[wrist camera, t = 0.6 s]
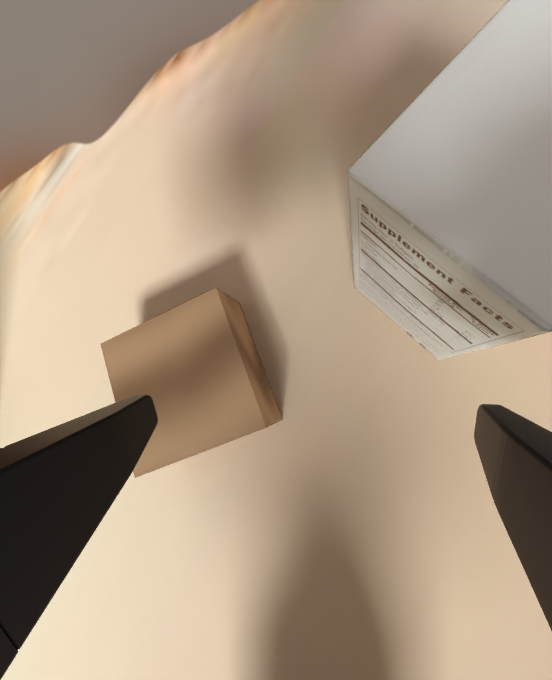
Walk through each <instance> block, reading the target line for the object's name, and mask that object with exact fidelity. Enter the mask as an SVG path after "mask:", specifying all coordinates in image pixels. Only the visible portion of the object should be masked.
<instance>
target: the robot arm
mask: <svg viewBox="0 0 552 680" xmlns="http://www.w3.org/2000/svg"><path fill="white" fill-rule="evenodd" d="M157 423H158V416H157V413H156V409H155V406H154V402H153V399H152V397H151V396H150V395H141V394H138V395H134V396H132V397H129V398H127V399H124V400H122V401H119V402H117V403H114V404H111V405H109V406H106V407H104V408H101V409H99V410H96V411H94V412H91V413H89V414H86V415H84V416H81V417H79V418H76V419H73V420H71V421H68V422H66V423H63V424H61V425H58V426H56V427H53V428H51V429H48V430H46V431H43V432H41V433H38V434H35V435H33V436H30V437H28V438H25V439H23V440H20V441H18V442H15V443H13V444H10V445H8V446H5V447H4V448H0V680H1V678H2V677H3V675H4V674H5V672H6V670H7V669H8V667H9V666H10V664H11V663H12V661H13V659H14V658H15V656H16V655H17V653H18V649H20V648H21V646H22V645H23V643H24V642H25V640H26V638H27V637H28V635H29V634H30V632H31V631H32V629H33V627H34V626H35V624H36V623H37V621H38V620H39V618H40V616H41V615H42V613H43V612H44V610H45V609H46V607H47V605H48V604H49V602H50V601H51V599H52V598H53V596H54V594H55V593H56V591H57V590H58V588H59V587H60V585H61V583H62V582H63V580H64V579H65V577H66V576H67V574H68V572H69V571H70V569H71V568H72V566H73V565H74V563H75V561H76V560H77V558H78V557H79V555H80V554H81V552H82V550H83V549H84V547H85V546H86V544H87V543H88V541H89V539H90V538H91V536H92V535H93V533H94V532H95V530H96V528H97V527H98V525H99V524H100V522H101V521H102V519H103V517H104V516H105V514H106V513H107V511H108V510H109V508H110V506H111V505H112V503H113V502H114V500H115V499H116V497H117V495H118V494H119V492H120V491H121V489H122V487H123V486H124V484H125V483H126V481H127V480H128V478H129V476H130V475H131V473H132V472H133V470H134V468H135V466H136V465H137V463H138V461H139V459H140V457H141V455H142V453H143V451H144V449H145V447H146V445H147V443H148V441H149V440H150V438H151V436H152V434H153V432H154V430H155V428H156V426H157ZM474 438H475V443H476V447H477V450H478V453H479V456H480V459H481V462H482V466H483V469H484V472H485V475H486V478H487V481H488V485H489V488H490V491H491V494H492V497H493V500H494V503H495V505H496V507H497V510H498V512H499V515H500V517H501V519H502V521H503V523H504V526H505V528H506V530H507V532H508V535H509V537H510V539H511V541H512V544H513V546H514V548H515V550H516V552H517V555H518V557H519V559H520V561H521V564H522V566H523V568H524V570H525V572H526V575H527V577H528V579H529V581H530V584H531V586H532V588H533V590H534V592H535V595H536V597H537V599H538V601H539V604H540V606H541V608H542V610H543V613H544V615H545V617H546V619H547V621H548V624H549V626H550V628H551V630H552V432H550V431H548V430H547V429H545V428H543V427H541V426H539V425H537V424H535V423H533V422H531V421H529V420H528V419H526V418H524V417H522V416H520V415H518V414H516V413H514V412H512V411H511V410H509V409H507V408H505V407H503V406H501V405H493V404H482V405H480V406H479V408H478V411H477V417H476V424H475V431H474Z"/></svg>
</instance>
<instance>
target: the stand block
mask: <svg viewBox="0 0 552 680" xmlns="http://www.w3.org/2000/svg"><path fill="white" fill-rule="evenodd" d="M101 348H102V351H103V355H104V359H105V363H106V367H107V371H108V375H109V379H110V383H111V386H112V390H113V394H114V398H115V402H116V403H117V402H119V401H122V400H124V399H127V398H129V397H132V396H134V395H138V394H141V395H150V396H151V397H152V399H153V402H154V406H155V409H156V413H157V416H158V423H157V426H156V428H155V430H154V432H153V434H152V436H151V438H150V440H149V441H148V443H147V445H146V447H145V449H144V451H143V453H142V455H141V457H140V459H139V461H138V463H137V465H136V466H135V468H134V470H133V472H134V476H135V478H136V477H138V476H141V475H143V474H146V473H149V472H151V471H154V470H156V469H159V468H162V467H164V466H167V465H169V464H172V463H175V462H177V461H180V460H182V459H185V458H188V457H190V456H193V455H196V454H198V453H201V452H203V451H206V450H209V449H211V448H214V447H216V446H219V445H222V444H224V443H227V442H229V441H232V440H235V439H237V438H240V437H242V436H245V435H248V434H250V433H253V432H256V431H258V430H261V429H263V428H266V427H268V426H270V425H272V424H274V423H276V422H278V421H280V420H282V417H281V414H280V411H279V408H278V406H277V403H276V400H275V398H274V395H273V392H272V390H271V387H270V384H269V382H268V379H267V376H266V374H265V371H264V368H263V365H262V363H261V360H260V357H259V355H258V352H257V349H256V347H255V344H254V341H253V339H252V336H251V333H250V331H249V328H248V325H247V322H246V320H245V317H244V314H243V312H242V309H241V306H240V304H239V302H237V301H236V300H234V299H233V298H231V297H230V296H228V295H227V294H225V293H224V292H222V291H221V290H219V289H218V288H214V289H212V290H210V291H208V292H206V293H204V294H202V295H200V296H198V297H195V298H193V299H191V300H189V301H187V302H185V303H183V304H181V305H179V306H177V307H175V308H173V309H171V310H169V311H167V312H165V313H163V314H161V315H159V316H157V317H155V318H153V319H151V320H148V321H146V322H144V323H142V324H140V325H138V326H136V327H134V328H132V329H130V330H128V331H126V332H124V333H122V334H120V335H118V336H116V337H114V338H112V339H110V340H108V341H106V342H104V343H102V344H101Z"/></svg>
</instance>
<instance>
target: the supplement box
mask: <svg viewBox="0 0 552 680" xmlns="http://www.w3.org/2000/svg"><path fill="white" fill-rule="evenodd" d="M347 174H348V187H349V205H350V222H351V240H352V256H353V272H354V286H355V289H357V290H358V291H359V292H360V293H362V294H363V295H364V296H365V297H366V298H367V299H368V300H370V301H371V302H372V303H373V304H374V305H375V306H376V307H378V308H379V309H380V310H381V311H382V312H383V313H384V314H386V315H387V316H388V317H389V318H390V319H391V320H392V321H394V322H395V323H396V324H397V325H398V326H399V327H400V328H402V329H403V330H404V331H405V332H406V333H407V334H408V335H410V336H411V337H412V338H413V339H414V340H415V341H416V342H418V343H419V344H420V345H421V346H422V347H423V348H424V349H426V350H427V351H428V352H429V353H430V354H431V355H432V356H433V357H435V358H436V359H437V360H443V359H447V358H450V357H454V356H458V355H462V354H465V353H469V352H474V351H478V350H481V349H485V348H490V347H494V346H497V345H501V344H506V343H510V342H514V341H517V340H521V339H525V338H529V337H533V336H536V335H540V334H544V333H547V332H551V331H552V0H508V1H507V2H506V3H505V4H504V6H503V7H502V8H501V9H500V10H499V11H498V12H497V13H496V14H495V15H494V16H493V17H492V18H491V19H490V20H489V21H488V22H487V24H486V25H485V26H484V27H483V28H482V29H481V30H480V31H479V32H478V33H477V34H476V35H475V36H474V37H473V38H472V39H471V40H470V41H469V43H468V44H467V45H466V46H465V47H464V48H463V49H462V50H461V51H460V52H459V53H458V54H457V55H456V56H455V57H454V58H453V59H452V60H451V62H450V63H449V64H448V65H447V66H446V67H445V68H444V69H443V70H442V71H441V72H440V73H439V74H438V75H437V76H436V77H435V78H434V80H433V81H432V82H431V83H430V84H429V85H428V86H427V87H426V88H425V89H424V90H423V91H422V92H421V93H420V94H419V95H418V97H417V98H416V99H415V100H414V101H413V102H412V103H411V104H410V105H409V106H408V107H407V108H406V109H405V110H404V111H403V112H402V113H401V115H400V116H399V117H398V118H397V119H396V120H395V121H394V122H393V123H392V124H391V125H390V126H389V127H388V128H387V129H386V130H385V131H384V132H383V134H382V135H381V136H380V137H379V138H378V139H377V140H376V141H375V142H374V143H373V144H372V145H371V146H370V147H369V148H368V149H367V150H366V152H365V153H364V154H363V155H362V156H361V157H360V158H359V159H358V160H357V161H356V162H355V163H354V164H353V165H352V166H351V167H350V168H349V170H348V171H347Z"/></svg>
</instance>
